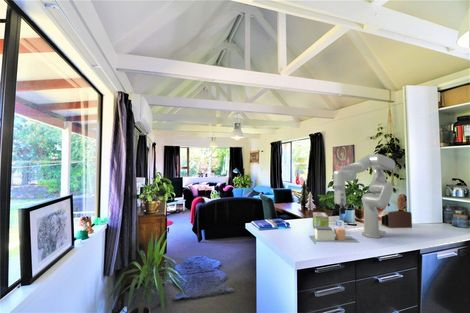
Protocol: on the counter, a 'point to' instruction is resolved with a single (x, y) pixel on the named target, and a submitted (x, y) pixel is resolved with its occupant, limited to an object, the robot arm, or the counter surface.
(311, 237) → the ticket board
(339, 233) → the stub
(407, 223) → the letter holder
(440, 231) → the counter surface
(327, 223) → the tea box
